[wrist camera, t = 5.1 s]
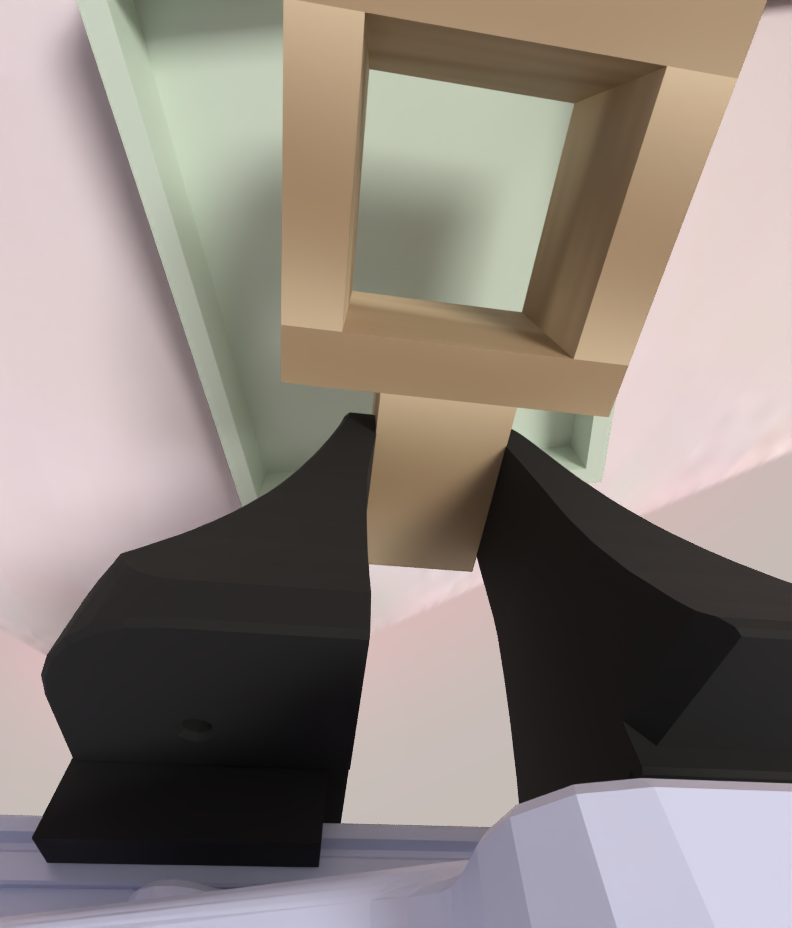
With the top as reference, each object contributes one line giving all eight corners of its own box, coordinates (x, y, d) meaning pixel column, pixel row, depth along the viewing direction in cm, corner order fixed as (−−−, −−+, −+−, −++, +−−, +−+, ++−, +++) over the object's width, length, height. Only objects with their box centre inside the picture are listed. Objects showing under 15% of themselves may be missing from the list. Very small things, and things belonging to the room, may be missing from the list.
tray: (256, 480, 18) (244, 513, 17) (103, -37, 11) (51, -73, 9) (580, 451, 18) (601, 482, 16) (657, -101, 10) (710, -151, 9)
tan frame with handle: (511, 491, 14) (547, 577, 11) (301, 472, 13) (279, 557, 10) (642, 45, 9) (776, -24, 6) (318, -13, 8) (284, -122, 5)
